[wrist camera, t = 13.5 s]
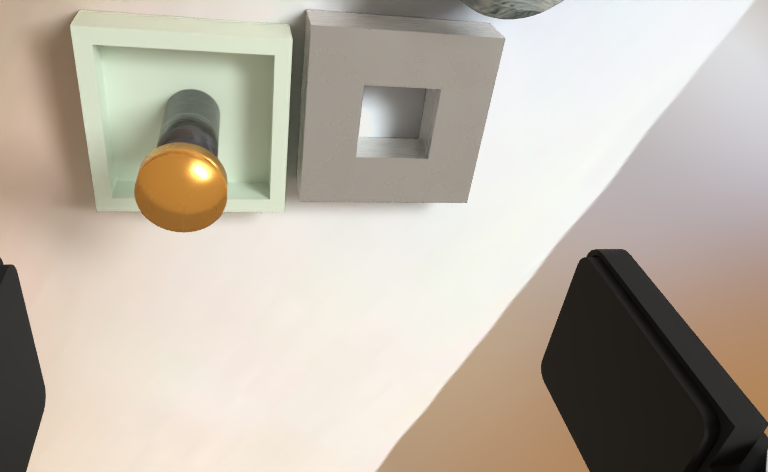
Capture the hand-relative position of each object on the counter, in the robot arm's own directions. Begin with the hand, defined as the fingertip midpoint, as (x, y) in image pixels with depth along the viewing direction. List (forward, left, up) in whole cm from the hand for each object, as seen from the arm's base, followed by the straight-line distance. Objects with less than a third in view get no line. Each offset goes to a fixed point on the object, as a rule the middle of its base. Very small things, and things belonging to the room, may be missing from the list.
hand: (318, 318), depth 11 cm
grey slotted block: (+10, +9, -32) cm, 35 cm away
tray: (+11, -4, -32) cm, 34 cm away
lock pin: (+11, -4, -32) cm, 34 cm away
